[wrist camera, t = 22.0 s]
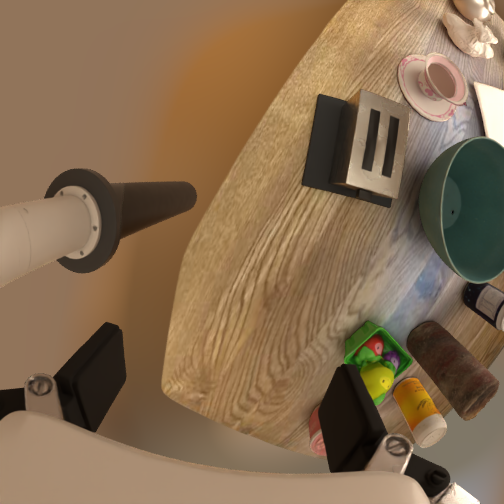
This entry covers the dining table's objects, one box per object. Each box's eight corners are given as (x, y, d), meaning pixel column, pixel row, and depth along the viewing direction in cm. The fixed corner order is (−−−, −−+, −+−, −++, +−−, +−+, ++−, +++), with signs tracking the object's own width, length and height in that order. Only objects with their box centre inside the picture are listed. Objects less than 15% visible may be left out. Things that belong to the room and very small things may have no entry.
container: (366, 394, 44) (377, 422, 36) (344, 427, 46) (352, 455, 39) (316, 391, 44) (323, 422, 36) (298, 425, 46) (301, 455, 38)
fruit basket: (403, 345, 41) (431, 384, 30) (366, 378, 43) (385, 420, 32) (369, 309, 39) (398, 349, 28) (328, 347, 41) (344, 393, 30)
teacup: (383, 80, 31) (401, 66, 25) (416, 43, 28) (433, 29, 22) (436, 137, 32) (460, 132, 26) (463, 96, 29) (485, 89, 23)
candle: (436, 310, 39) (504, 373, 20) (441, 339, 40) (498, 402, 21) (402, 332, 40) (460, 409, 21) (410, 360, 42) (459, 433, 22)
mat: (301, 185, 35) (302, 185, 34) (317, 95, 32) (319, 93, 31) (387, 207, 35) (390, 208, 34) (401, 123, 32) (404, 122, 31)
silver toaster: (383, 120, 31) (411, 108, 24) (369, 202, 34) (396, 208, 27) (341, 106, 31) (361, 88, 24) (326, 190, 34) (343, 193, 26)
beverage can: (459, 308, 39) (497, 338, 27) (461, 281, 38) (503, 308, 26) (479, 299, 38) (516, 325, 27) (481, 272, 37) (522, 295, 25)
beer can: (421, 382, 43) (452, 430, 29) (399, 401, 44) (425, 451, 30) (410, 370, 42) (443, 422, 28) (386, 391, 44) (413, 445, 29)
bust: (429, 27, 28) (448, 30, 21) (443, 3, 22) (465, 1, 15) (474, 66, 29) (499, 78, 22) (489, 43, 23) (516, 52, 16)
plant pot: (385, 254, 37) (428, 283, 25) (396, 131, 32) (444, 117, 21) (467, 260, 37) (512, 284, 25) (478, 158, 32) (527, 158, 20)
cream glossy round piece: (476, 36, 25) (503, 22, 15) (442, 4, 24) (466, -15, 14) (481, 19, 23) (505, 5, 13) (449, -10, 22) (470, -28, 12)
